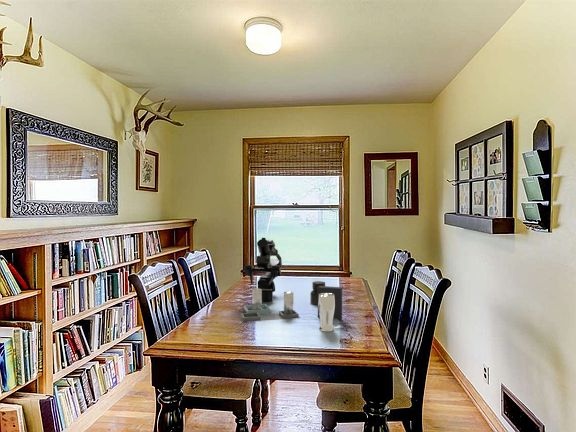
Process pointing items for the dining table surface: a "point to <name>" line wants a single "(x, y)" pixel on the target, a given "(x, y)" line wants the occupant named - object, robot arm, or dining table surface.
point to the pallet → (267, 316)
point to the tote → (257, 310)
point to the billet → (288, 302)
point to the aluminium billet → (257, 299)
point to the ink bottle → (315, 292)
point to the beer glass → (326, 311)
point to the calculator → (338, 299)
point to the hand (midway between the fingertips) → (260, 283)
